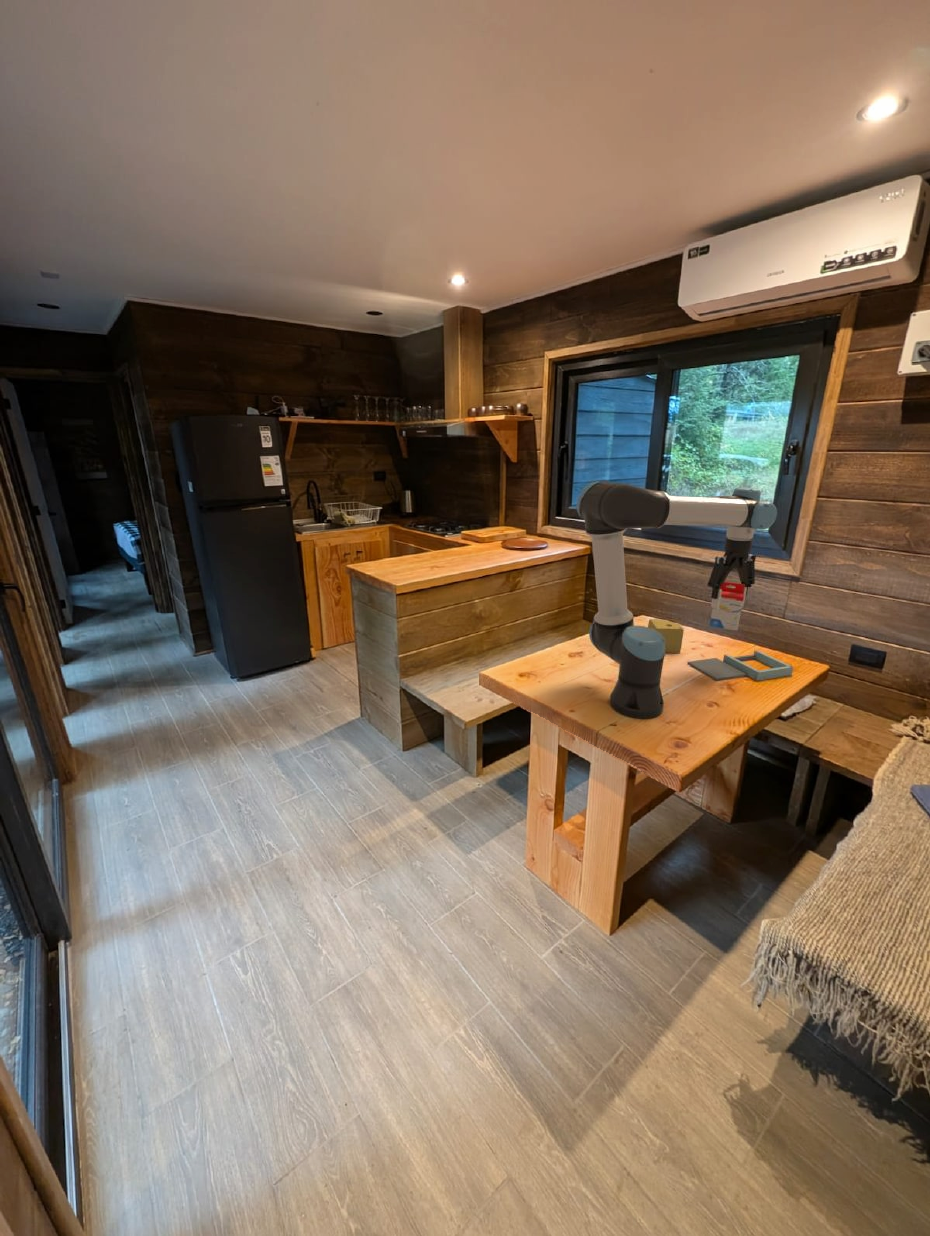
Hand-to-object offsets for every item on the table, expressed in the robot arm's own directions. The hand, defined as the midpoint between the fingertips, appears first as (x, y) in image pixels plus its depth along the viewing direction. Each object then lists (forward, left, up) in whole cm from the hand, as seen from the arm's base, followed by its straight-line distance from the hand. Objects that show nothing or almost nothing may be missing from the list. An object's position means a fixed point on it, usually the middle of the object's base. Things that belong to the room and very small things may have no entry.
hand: (727, 606), depth 165 cm
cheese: (-5, +22, -23) cm, 32 cm away
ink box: (0, 0, -7) cm, 7 cm away
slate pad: (0, 0, -23) cm, 23 cm away
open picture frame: (+14, -3, -23) cm, 27 cm away
